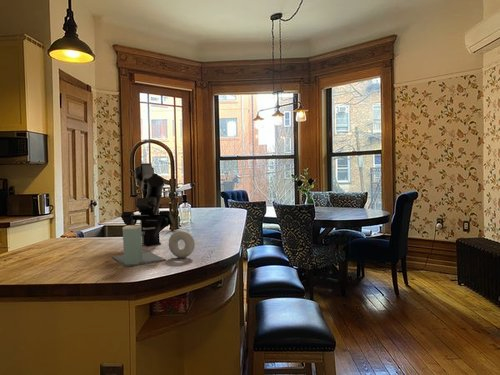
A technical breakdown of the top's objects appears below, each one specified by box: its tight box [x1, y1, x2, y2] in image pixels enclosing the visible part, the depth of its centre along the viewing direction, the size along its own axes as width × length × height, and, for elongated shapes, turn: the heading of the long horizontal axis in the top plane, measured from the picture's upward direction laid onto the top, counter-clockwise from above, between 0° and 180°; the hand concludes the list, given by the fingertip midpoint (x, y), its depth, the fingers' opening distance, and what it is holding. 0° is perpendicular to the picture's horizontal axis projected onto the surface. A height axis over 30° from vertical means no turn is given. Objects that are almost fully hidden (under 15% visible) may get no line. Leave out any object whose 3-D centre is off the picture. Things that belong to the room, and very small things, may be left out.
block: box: [122, 224, 143, 264], centre depth 126 cm, size 4×4×12 cm
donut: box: [168, 229, 196, 259], centre depth 133 cm, size 10×4×10 cm, turn 74°
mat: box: [111, 250, 167, 268], centre depth 133 cm, size 14×18×1 cm
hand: (141, 236), depth 134 cm, fingers open, 9 cm apart
